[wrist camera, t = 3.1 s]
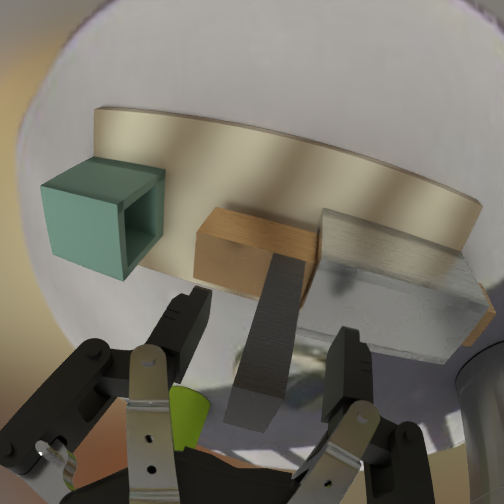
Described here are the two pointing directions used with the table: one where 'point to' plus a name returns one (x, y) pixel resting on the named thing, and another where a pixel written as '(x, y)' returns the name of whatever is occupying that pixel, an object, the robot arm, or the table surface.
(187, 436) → the soap dispenser
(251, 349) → the inner bar
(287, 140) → the base board
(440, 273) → the outer sleeve
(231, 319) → the table surface
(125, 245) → the socket block
